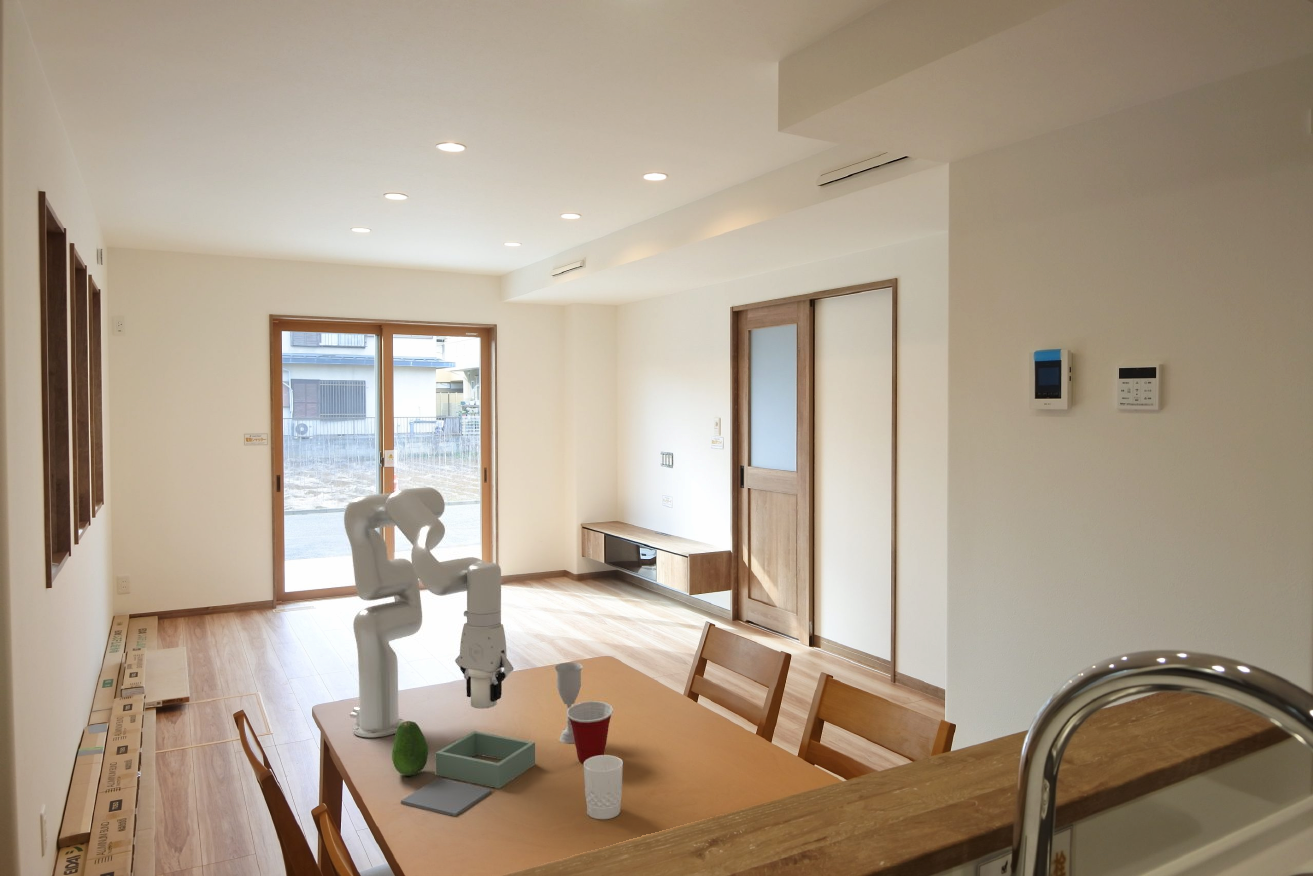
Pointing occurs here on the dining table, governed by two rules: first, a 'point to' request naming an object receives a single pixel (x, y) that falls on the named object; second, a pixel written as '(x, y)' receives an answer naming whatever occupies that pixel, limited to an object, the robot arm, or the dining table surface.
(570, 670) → the chalice
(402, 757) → the avocado
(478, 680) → the white mushroom shaped cylinder
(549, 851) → the dining table surface
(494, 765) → the green open box
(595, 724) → the plastic cup
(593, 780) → the white cup
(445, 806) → the mat
